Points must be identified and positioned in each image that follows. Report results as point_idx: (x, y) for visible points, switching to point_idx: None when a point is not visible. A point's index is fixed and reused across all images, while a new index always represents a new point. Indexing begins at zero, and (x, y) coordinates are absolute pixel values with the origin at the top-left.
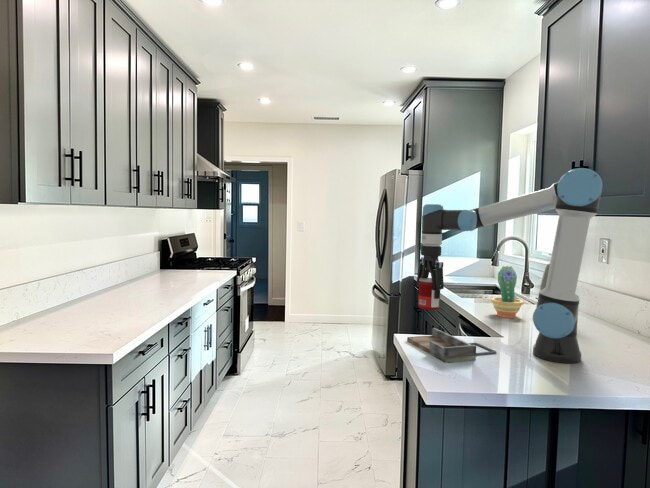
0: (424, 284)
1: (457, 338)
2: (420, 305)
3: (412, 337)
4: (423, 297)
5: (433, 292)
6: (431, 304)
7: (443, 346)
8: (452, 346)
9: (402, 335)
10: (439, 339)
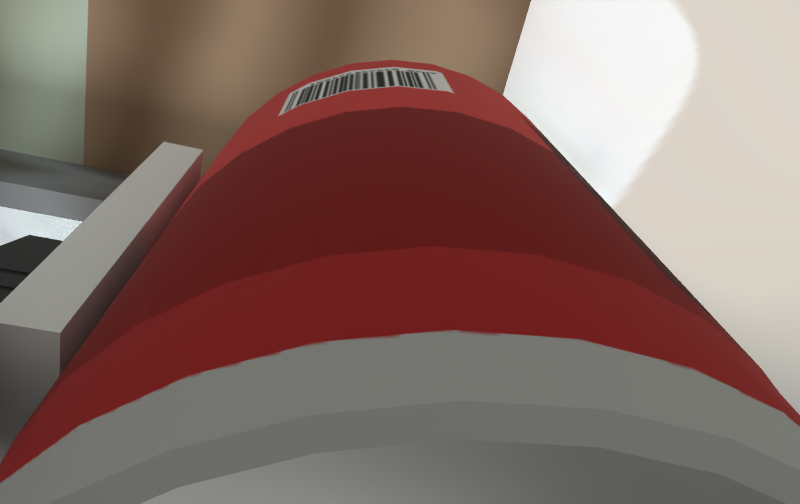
0: (256, 276)
1: (66, 216)
2: (407, 62)
3: (501, 19)
4: (326, 109)
5: (21, 294)
6: (185, 165)
7: (135, 78)
8: (109, 152)
9: (682, 68)
10: None
